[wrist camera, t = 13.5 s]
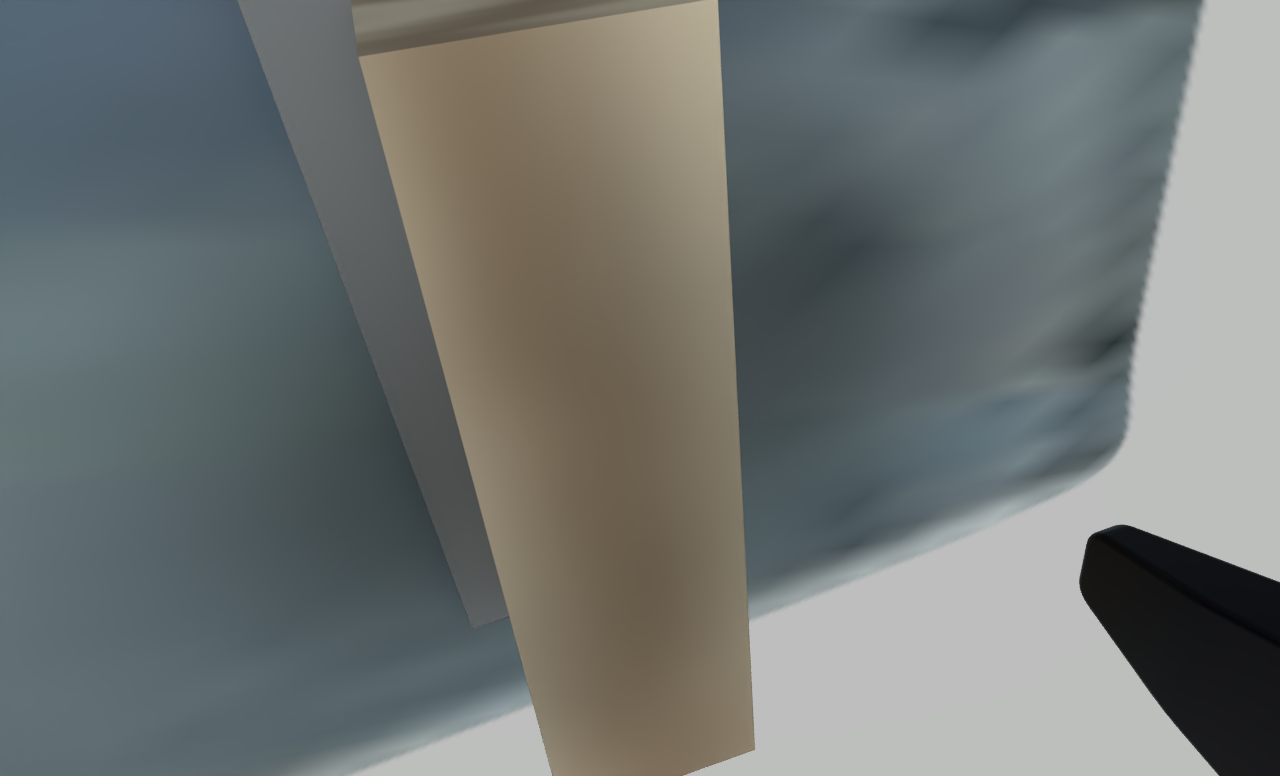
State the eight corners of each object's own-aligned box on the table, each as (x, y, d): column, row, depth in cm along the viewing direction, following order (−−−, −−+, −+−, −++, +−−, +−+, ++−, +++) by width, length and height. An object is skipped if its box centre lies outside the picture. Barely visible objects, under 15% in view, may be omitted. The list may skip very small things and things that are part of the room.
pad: (720, 528, 23) (728, 542, 22) (469, 612, 22) (472, 628, 21) (635, -167, 14) (646, -168, 14) (207, -93, 13) (202, -93, 12)
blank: (587, -40, 14) (717, -1, 10) (660, 556, 22) (754, 749, 17) (350, -5, 14) (358, 56, 9) (510, 600, 21) (563, 818, 16)
